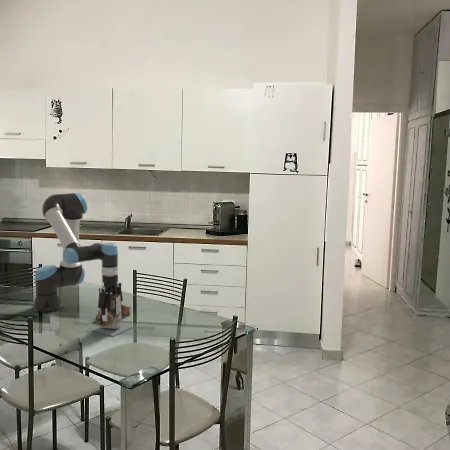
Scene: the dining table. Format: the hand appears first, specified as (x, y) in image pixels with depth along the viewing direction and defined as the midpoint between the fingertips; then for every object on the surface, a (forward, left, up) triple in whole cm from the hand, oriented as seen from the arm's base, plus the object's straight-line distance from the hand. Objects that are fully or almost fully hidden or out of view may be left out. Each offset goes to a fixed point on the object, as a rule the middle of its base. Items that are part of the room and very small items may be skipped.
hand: (110, 318), depth 256 cm
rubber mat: (+1, 0, -6) cm, 6 cm away
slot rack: (-10, +13, -6) cm, 17 cm away
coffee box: (0, 0, -4) cm, 4 cm away
